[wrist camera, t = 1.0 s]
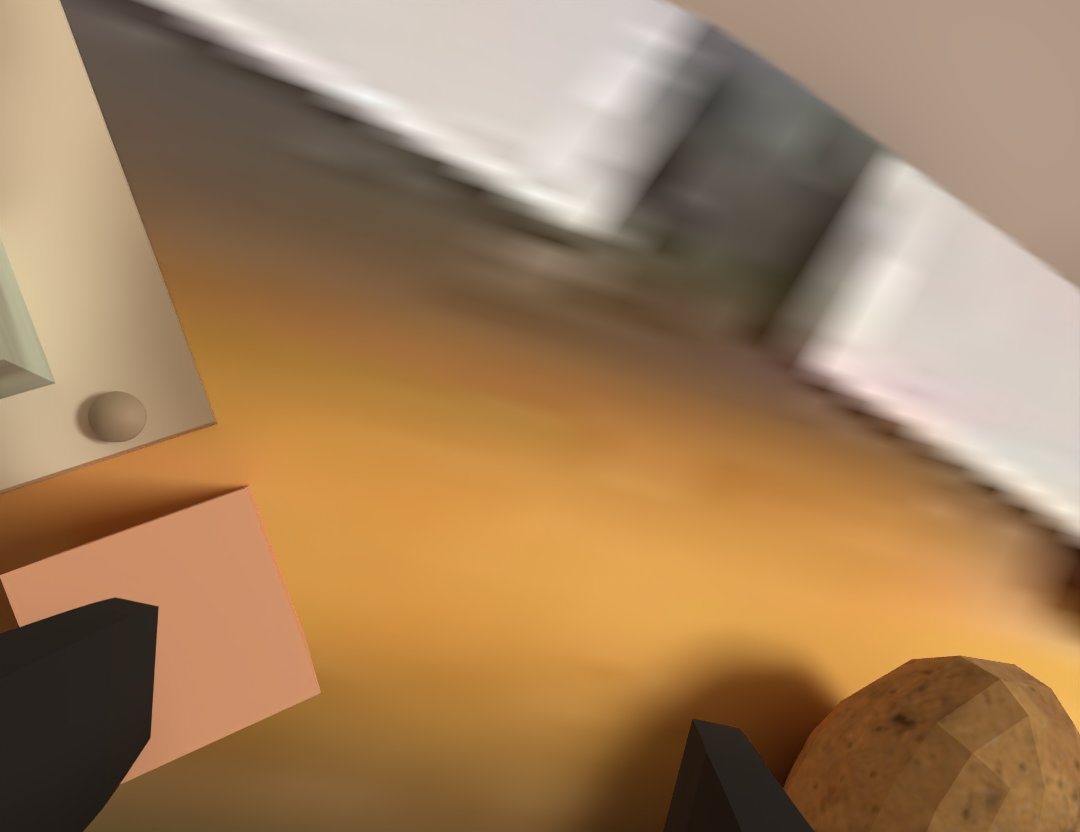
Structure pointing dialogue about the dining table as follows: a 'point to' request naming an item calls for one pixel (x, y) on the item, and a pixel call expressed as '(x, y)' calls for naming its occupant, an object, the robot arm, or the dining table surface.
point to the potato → (942, 754)
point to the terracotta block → (190, 617)
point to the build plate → (76, 274)
